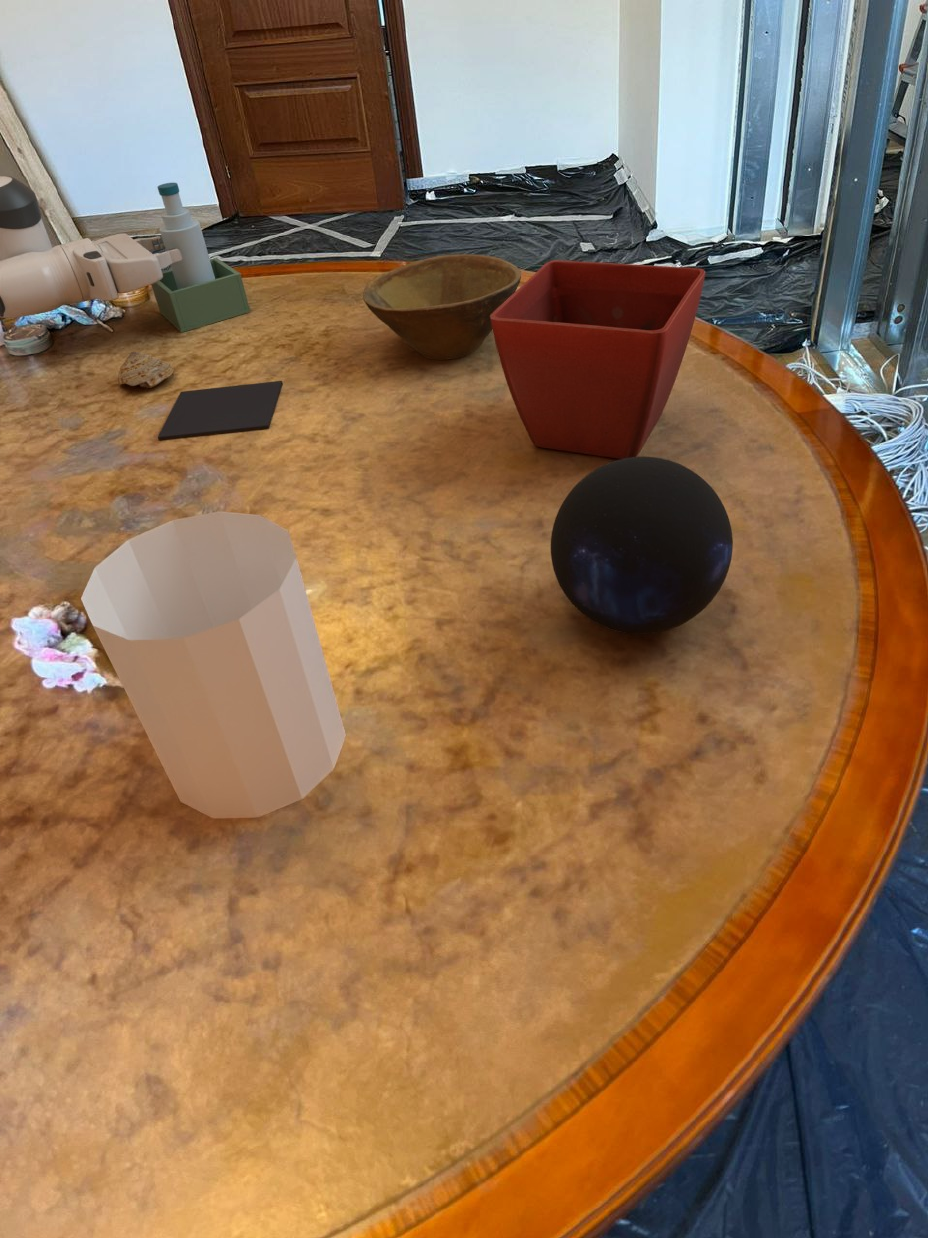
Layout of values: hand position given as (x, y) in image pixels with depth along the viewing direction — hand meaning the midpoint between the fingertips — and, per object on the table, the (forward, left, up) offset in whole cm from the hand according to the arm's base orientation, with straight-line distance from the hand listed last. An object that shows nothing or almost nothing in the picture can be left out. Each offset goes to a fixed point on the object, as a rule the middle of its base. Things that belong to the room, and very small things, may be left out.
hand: (171, 247), depth 143 cm
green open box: (+2, +1, -12) cm, 12 cm away
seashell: (-1, -27, -12) cm, 30 cm away
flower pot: (+63, -57, -12) cm, 86 cm away
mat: (+13, -40, -12) cm, 44 cm away
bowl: (+45, -26, -12) cm, 54 cm away
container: (+28, -104, -12) cm, 109 cm away
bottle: (+2, +1, -11) cm, 11 cm away
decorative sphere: (+61, -92, -12) cm, 111 cm away
